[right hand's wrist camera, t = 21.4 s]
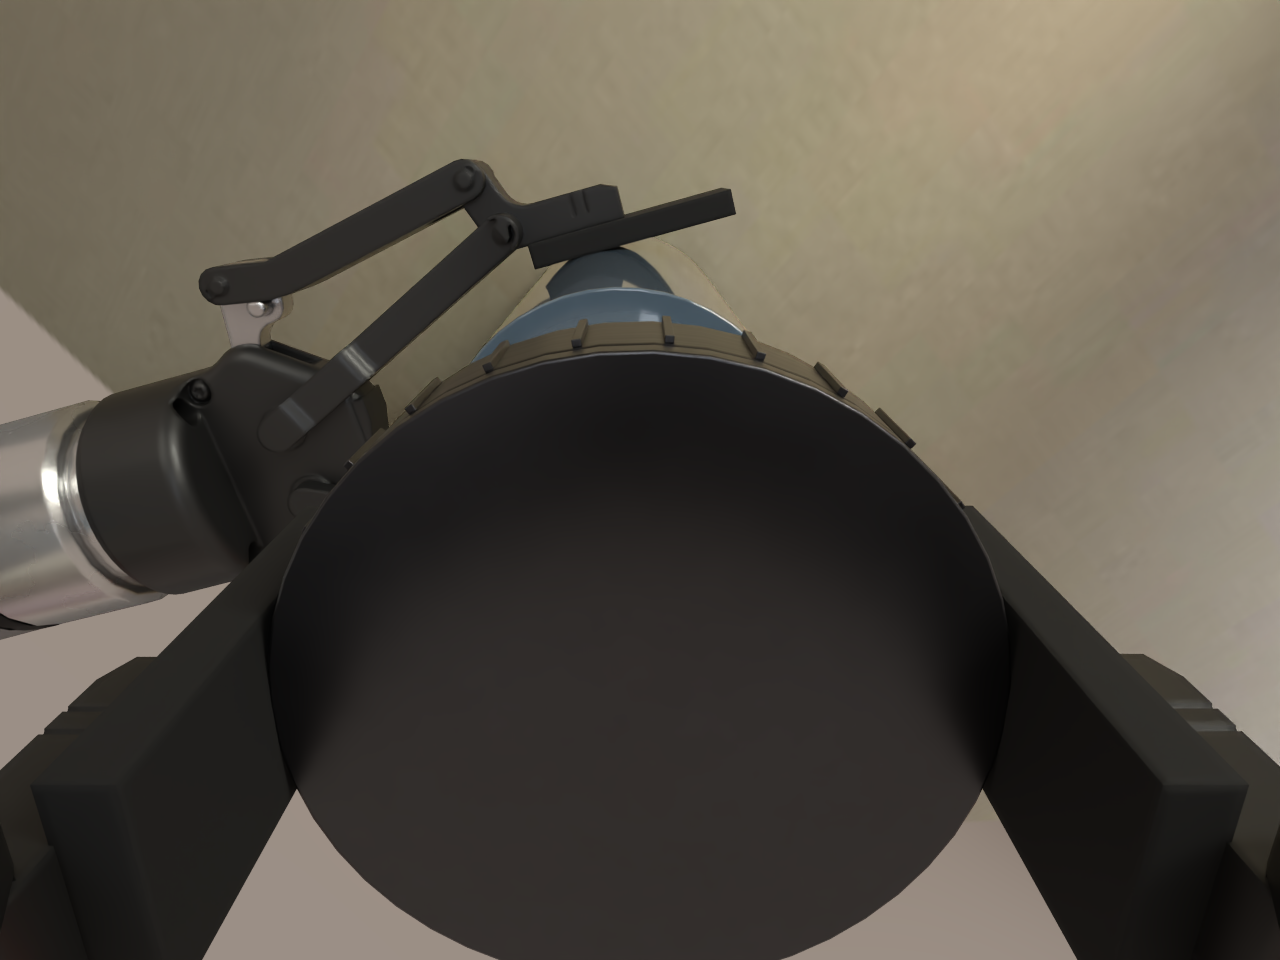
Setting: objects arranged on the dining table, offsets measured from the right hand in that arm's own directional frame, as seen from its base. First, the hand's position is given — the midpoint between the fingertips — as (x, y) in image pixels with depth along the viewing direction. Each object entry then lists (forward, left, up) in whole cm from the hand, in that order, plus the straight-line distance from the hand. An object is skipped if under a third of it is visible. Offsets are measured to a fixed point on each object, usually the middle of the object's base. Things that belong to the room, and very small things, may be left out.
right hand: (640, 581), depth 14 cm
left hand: (-1, +4, -16) cm, 17 cm away
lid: (0, 0, +3) cm, 3 cm away
